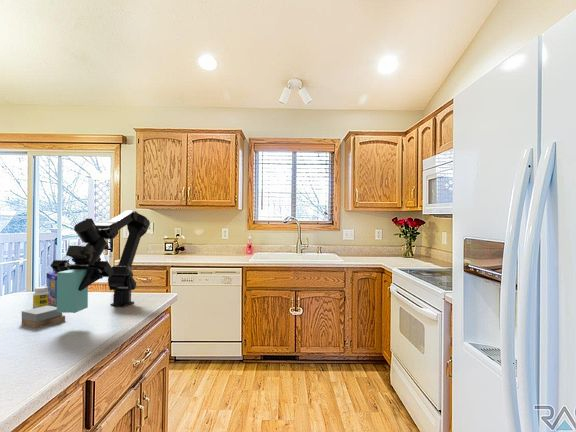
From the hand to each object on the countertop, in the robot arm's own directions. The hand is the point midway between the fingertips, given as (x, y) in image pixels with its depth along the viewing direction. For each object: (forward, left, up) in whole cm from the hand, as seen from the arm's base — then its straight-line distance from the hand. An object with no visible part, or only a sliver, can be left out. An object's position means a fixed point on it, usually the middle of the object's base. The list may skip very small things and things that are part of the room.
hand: (69, 289), depth 106 cm
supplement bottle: (-15, -29, -13) cm, 35 cm away
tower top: (-3, -14, -11) cm, 18 cm away
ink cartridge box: (-25, -32, -13) cm, 43 cm away
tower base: (-4, -14, -13) cm, 20 cm away
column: (-1, 0, -7) cm, 7 cm away
